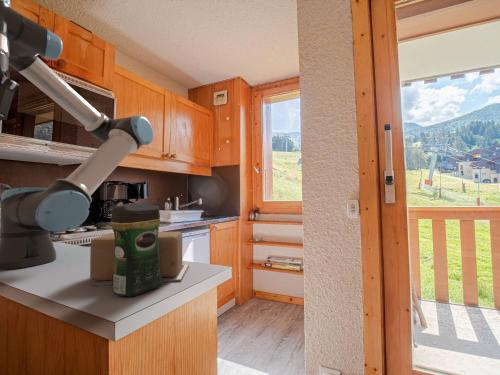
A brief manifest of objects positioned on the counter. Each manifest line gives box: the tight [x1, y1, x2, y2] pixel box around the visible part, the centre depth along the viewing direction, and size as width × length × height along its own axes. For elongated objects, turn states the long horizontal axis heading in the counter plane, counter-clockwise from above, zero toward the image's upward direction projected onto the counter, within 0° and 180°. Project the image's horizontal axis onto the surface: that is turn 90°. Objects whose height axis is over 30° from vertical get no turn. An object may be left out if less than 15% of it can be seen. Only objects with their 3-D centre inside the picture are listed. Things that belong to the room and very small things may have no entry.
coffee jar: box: [110, 202, 163, 297], centre depth 53 cm, size 10×8×19 cm
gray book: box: [91, 264, 190, 287], centre depth 64 cm, size 13×20×1 cm, turn 96°
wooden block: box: [89, 231, 183, 282], centre depth 63 cm, size 10×10×20 cm
